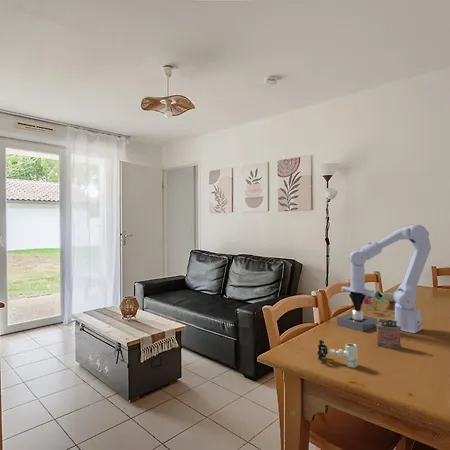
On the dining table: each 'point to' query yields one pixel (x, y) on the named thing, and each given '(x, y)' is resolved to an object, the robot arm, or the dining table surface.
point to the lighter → (388, 333)
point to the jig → (360, 326)
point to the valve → (341, 353)
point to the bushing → (357, 315)
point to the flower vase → (378, 299)
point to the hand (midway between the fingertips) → (357, 310)
